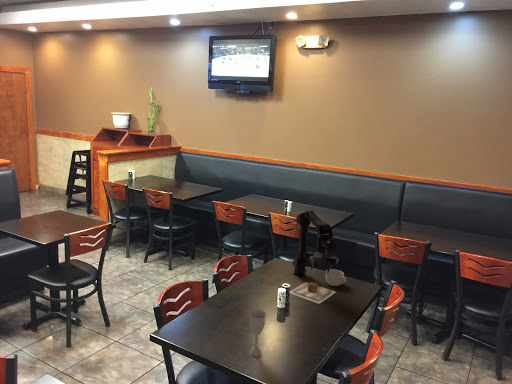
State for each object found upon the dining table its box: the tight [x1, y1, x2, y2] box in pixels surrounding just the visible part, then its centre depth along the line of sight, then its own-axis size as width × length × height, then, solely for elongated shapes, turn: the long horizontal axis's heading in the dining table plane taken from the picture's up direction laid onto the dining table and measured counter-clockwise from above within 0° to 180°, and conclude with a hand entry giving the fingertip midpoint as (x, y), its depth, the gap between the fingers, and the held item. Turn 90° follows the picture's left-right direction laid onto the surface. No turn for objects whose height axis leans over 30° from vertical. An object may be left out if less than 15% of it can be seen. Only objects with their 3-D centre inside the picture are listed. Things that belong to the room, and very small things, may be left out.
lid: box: [293, 281, 333, 301], centre depth 235 cm, size 16×16×5 cm
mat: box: [289, 281, 337, 305], centre depth 236 cm, size 20×20×1 cm
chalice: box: [248, 309, 268, 357], centre depth 173 cm, size 7×7×18 cm
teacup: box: [324, 268, 347, 287], centre depth 247 cm, size 14×11×8 cm
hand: (319, 271), depth 235 cm, fingers open, 9 cm apart
